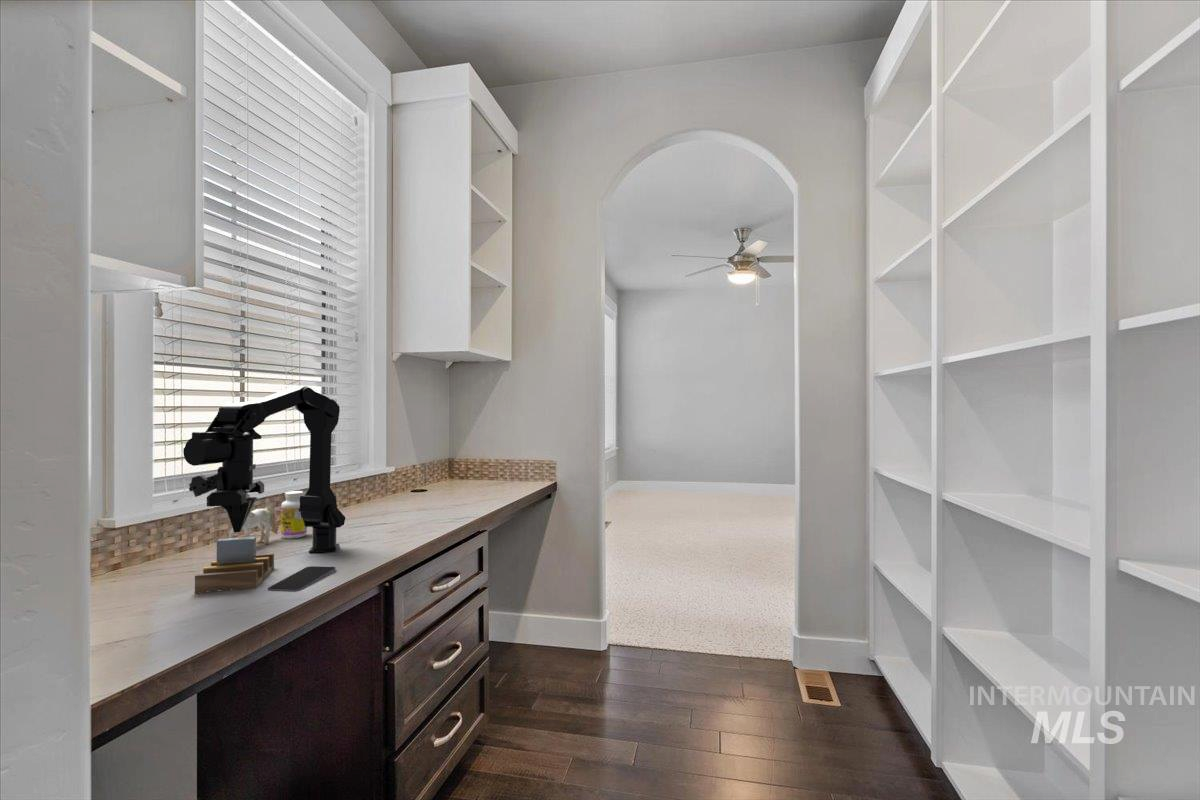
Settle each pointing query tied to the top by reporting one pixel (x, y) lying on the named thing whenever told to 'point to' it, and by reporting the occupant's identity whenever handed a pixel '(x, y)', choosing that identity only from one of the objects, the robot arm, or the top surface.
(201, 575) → the rack
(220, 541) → the block
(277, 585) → the smartphone
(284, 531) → the supplement bottle
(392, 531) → the top surface
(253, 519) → the unicorn figurine
